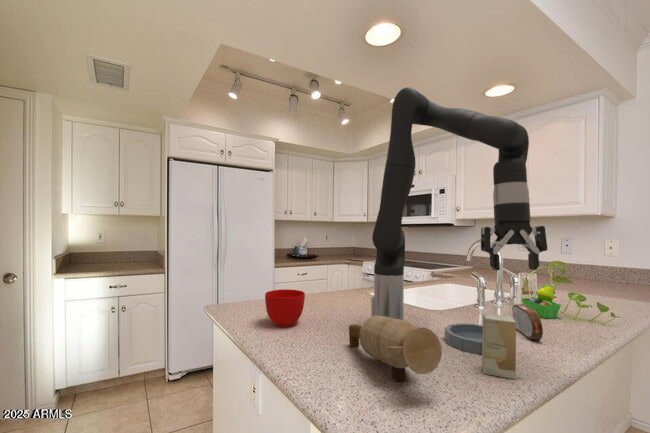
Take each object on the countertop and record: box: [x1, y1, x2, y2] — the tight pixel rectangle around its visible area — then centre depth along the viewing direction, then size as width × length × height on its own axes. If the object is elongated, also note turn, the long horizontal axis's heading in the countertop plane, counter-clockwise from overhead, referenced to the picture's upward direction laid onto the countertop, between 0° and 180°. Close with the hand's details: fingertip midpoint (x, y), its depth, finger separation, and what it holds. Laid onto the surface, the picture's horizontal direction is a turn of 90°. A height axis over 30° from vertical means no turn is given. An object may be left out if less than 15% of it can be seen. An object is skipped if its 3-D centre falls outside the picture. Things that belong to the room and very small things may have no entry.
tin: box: [511, 303, 544, 341], centre depth 94 cm, size 15×3×8 cm, turn 168°
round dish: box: [444, 322, 483, 355], centre depth 86 cm, size 16×16×3 cm
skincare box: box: [481, 313, 517, 380], centre depth 69 cm, size 6×4×12 cm
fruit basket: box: [521, 284, 562, 319], centre depth 117 cm, size 11×9×11 cm
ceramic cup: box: [264, 288, 306, 328], centre depth 104 cm, size 13×17×10 cm
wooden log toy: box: [348, 315, 443, 382], centre depth 70 cm, size 10×12×30 cm
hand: (514, 269), depth 74 cm, fingers open, 8 cm apart
